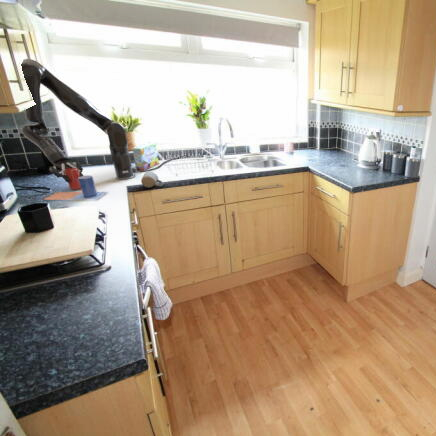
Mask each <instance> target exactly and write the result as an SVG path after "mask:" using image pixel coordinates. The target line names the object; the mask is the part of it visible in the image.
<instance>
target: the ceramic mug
mask: <svg viewBox="0 0 436 436" xmlns="http://www.w3.org/2000/svg"><path fill="white" fill-rule="evenodd" d="M140 182H141V185H142V186H143V187H144V188H147V189H151V188H154V187H163V186H164V181H162V180H160V179H159V177H158V175H157V174H156V173H155V172H153V171H146V172H144V174H143V176H141V181H140Z"/></svg>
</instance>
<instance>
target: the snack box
mask: <svg viewBox="0 0 436 436" xmlns="http://www.w3.org/2000/svg"><path fill="white" fill-rule="evenodd" d="M131 150H132V154H133V159H134V164H135V168H136V169H137V170H140V171H147V170H149V169H152V168H154V167H156V165H160V164H159V163H160V161H159V155H158V148H157V143H156V142H147V143H143V144H141V145H138V146H135V147H132V149H131ZM137 170H136V171H137Z"/></svg>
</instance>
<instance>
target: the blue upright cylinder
mask: <svg viewBox="0 0 436 436" xmlns="http://www.w3.org/2000/svg"><path fill="white" fill-rule="evenodd" d="M78 180H79V183H80V186H81V188H80V189H81V192H82V193H83V197H85V198H90V197H95V196H97V192H98V191H97V187H96V183H95V180H94V176H93V175H84V176H81V177H78Z"/></svg>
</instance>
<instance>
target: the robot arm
mask: <svg viewBox="0 0 436 436" xmlns="http://www.w3.org/2000/svg"><path fill="white" fill-rule="evenodd" d="M22 60H23V62H22V64H21V66H22V71H23V74H24V78H25V80H26V83H27V85H28V87H29V90H30V92H31V94H32V97H33V100H34V102H35V103H36V105H34V106H32V107H30V108H28V109H26V110H25V109H24V117H25V119H26V120H27V121H28V122H30V123H35V124H24V125H23V126H22V127H21V133H22V135H23V136H24V137H25V138H26V139H27V140H29V141H30V142H31V143H33V144H34V145H36V146H37V147H38V148H39V149H40V150H41V151H42V152H43V154H44V156H45V157H46V158H47V160H48V161H49V162H50V163H51V164H52V165H53V166H52V165H51V166H49V170H48V171H50V172H51V173H52V174H53V175H54V176H55V177H56V178H62V179H63V180H64V181H65V182H66V183H67V184H68V183H70V181H71V180H70V179H69V178H68V176H67V175H65V172H64V170H65V169H69V168H78V170H79V173H80V177H81V176H85V175H84V174H83V171H84V168H83V167H82V165H81V164H80V162H79V161H78V160H77V161H74V162H72V161H71V160H70V159H69V157H68V156H67V154H65V153H64V151H63V150H62V149H61V148H60V147H59V146H58V145H57V144H56V143H55V141H54V140H53V139H52V138H51V137H48V136H49V134H50V133H49V132H50V131H49V128H48V127H47V124H46V121H45V118H44V107H43V103H42V102H43V101H42V98H41V85H42V86H43V87H45V88H46V89H48V90H49V91H50V92H51V93H52V94H53V95H54V96H55V97H56V99H58V100H59V101H60V102H61V103H62V104H63V105H64V106H65V107H66V108H68V109H70V110H71V111H72V112H74V113H75V114H77V115H79V116H80V117H82V118H83V119H85V120H87V121H89V122H90V123H92V124H94V125H96V127H97V128H99V129H100V130H101V131H102V132H103V133H105V134H106V135H107V138H108V142H109V146H108V147H109V152H110V156H111V160H112V165H113V168H114V173H115V178H116V179H117V180H129V179H132V178H134V177H135V175H134V174H136V173H137V171H138V172H139V173H146V172H152V171H155V170H157V169H159V168H160V167H162V166H163V165H164V164H165V163H167V162H169V161H173V160H178V159H181V158H184V157H187V158H188V157H189V156H188V155H187V154H184V155H181V156H178V157H173V158H170V159H168V160H166V161H163V162H162V163H161V164H159V165H158V166H157V167H156V166H155V167H153V168H149V169H146V170H144V171H140V170H137V169H136V167H133V165H132V161H131V156H130V152H129V147H128V146H129V142H128V137H127V133H126V132H127V131H126V128H125V127H124V126H123V124H121V123H119V122H116V121H114V120H113V119H111V118H110V117H108V116H106V115H105V114H103V113H102V112H101V111H99V109H98V108H97V107H95V105H94V104H93V103H91V101H89V100H88V99H87V98H85V97H84V96H82V95H81V94H80V93H79V92H77V91H76V90H74V89H73V88H72V87H70V86H69V85H67V84H66V83H65V82H63V81H61V80H60V79H59V78H58V77H56V76H55V75H54V74H53V73H51V72H50V71H49V70H48V68H46V67H45V66H44V65H42V63H40V62H38V61H37V60H34V59H32V58H24V59H22ZM59 171H60V172H59Z"/></svg>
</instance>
